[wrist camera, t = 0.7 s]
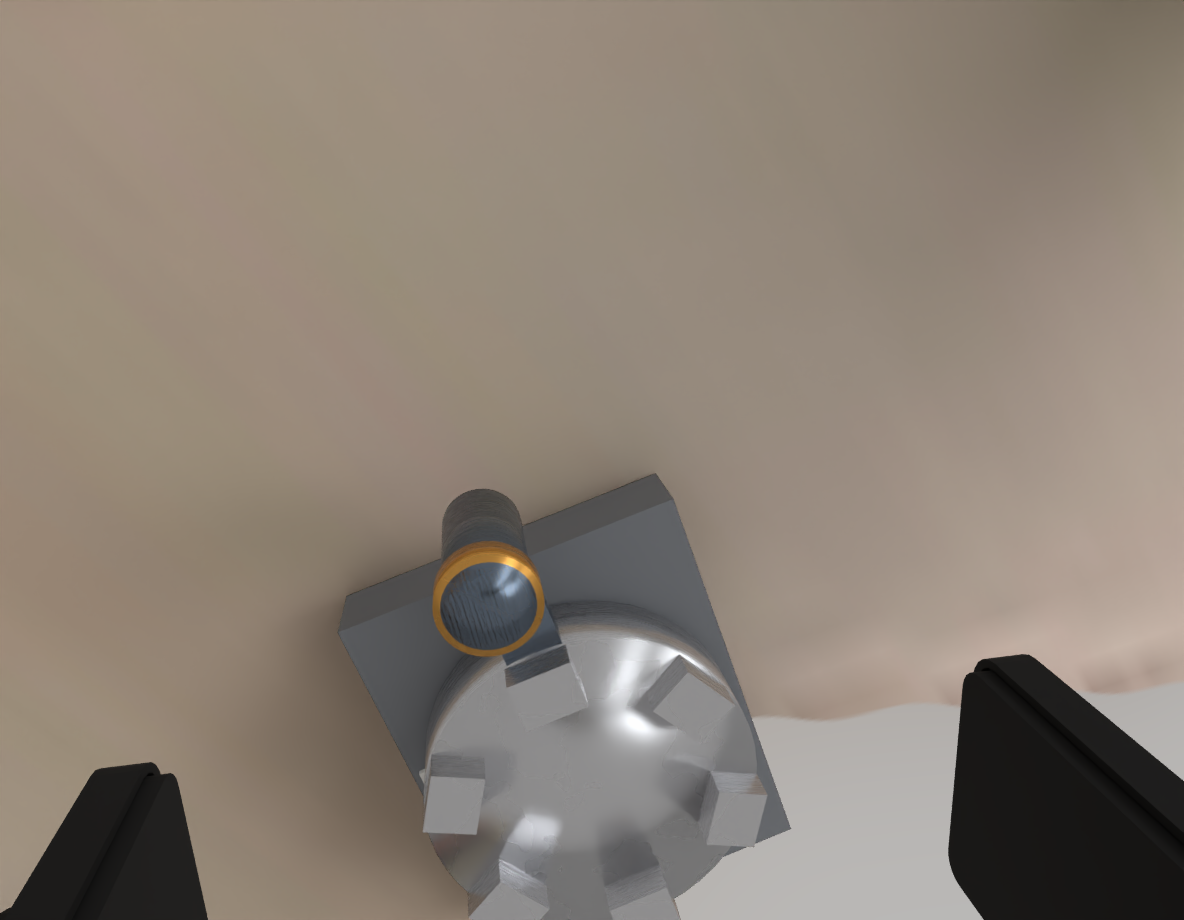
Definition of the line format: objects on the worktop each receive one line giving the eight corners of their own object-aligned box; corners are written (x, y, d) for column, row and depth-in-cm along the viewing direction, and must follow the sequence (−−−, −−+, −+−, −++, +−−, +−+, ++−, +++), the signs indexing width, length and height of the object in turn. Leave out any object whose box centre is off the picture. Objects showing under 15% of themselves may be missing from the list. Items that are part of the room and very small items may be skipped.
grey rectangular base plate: (655, 473, 36) (674, 500, 33) (767, 783, 41) (792, 832, 38) (346, 596, 35) (336, 635, 32) (499, 893, 41) (503, 951, 38)
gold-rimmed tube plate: (768, 800, 37) (846, 953, 30) (496, 912, 37) (507, 1094, 30) (625, 406, 31) (678, 475, 24) (300, 534, 31) (253, 644, 24)
